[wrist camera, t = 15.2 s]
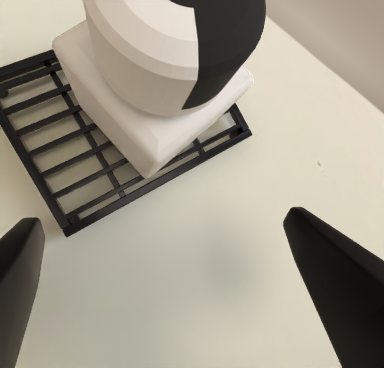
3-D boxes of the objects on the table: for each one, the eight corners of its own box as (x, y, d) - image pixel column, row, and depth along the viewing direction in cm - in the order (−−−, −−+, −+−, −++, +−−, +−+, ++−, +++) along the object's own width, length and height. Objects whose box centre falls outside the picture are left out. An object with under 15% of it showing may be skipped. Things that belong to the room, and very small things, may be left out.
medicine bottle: (154, 51, 19) (193, -181, 8) (213, 123, 20) (331, 8, 8) (77, 104, 18) (-18, -92, 6) (145, 181, 18) (177, 136, 7)
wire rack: (71, 235, 18) (66, 237, 17) (-16, 87, 18) (-29, 76, 16) (244, 139, 22) (252, 134, 21) (178, 17, 22) (182, 3, 20)
